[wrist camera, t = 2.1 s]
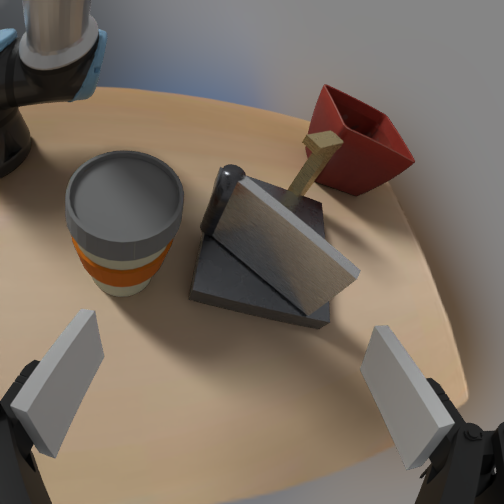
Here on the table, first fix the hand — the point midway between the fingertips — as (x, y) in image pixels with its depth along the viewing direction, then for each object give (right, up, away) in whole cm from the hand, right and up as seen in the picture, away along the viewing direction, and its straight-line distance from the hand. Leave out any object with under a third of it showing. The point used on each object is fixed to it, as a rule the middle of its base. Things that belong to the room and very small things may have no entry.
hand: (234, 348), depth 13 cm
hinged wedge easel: (+1, +2, +29) cm, 30 cm away
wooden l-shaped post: (+6, +13, +43) cm, 46 cm away
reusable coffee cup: (-17, +2, +26) cm, 31 cm away
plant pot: (+20, +23, +57) cm, 65 cm away
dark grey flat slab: (+3, +5, +36) cm, 37 cm away
